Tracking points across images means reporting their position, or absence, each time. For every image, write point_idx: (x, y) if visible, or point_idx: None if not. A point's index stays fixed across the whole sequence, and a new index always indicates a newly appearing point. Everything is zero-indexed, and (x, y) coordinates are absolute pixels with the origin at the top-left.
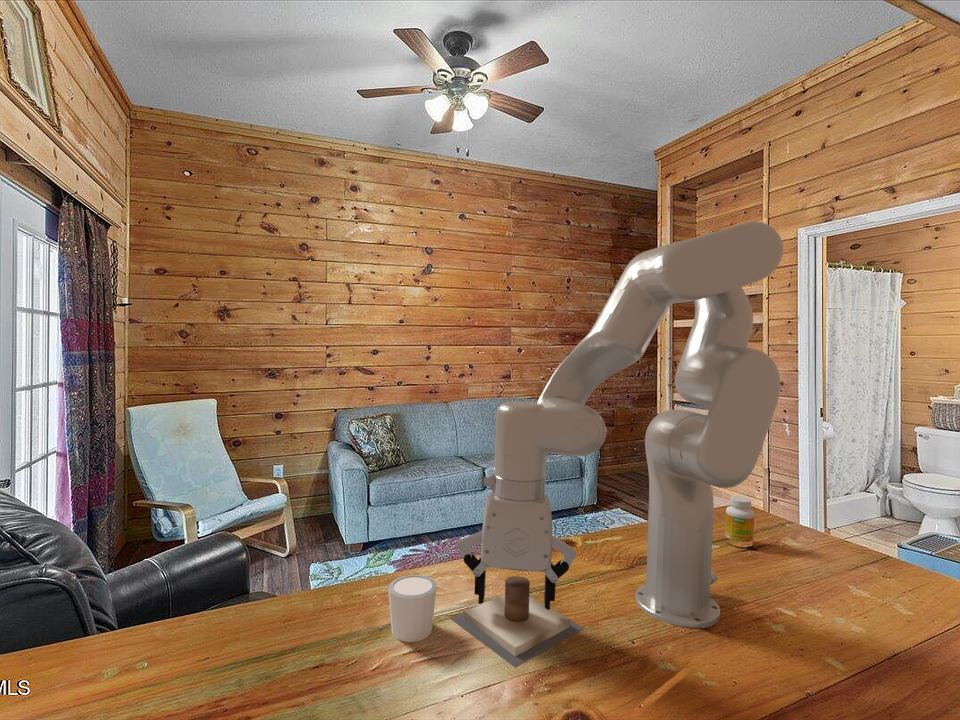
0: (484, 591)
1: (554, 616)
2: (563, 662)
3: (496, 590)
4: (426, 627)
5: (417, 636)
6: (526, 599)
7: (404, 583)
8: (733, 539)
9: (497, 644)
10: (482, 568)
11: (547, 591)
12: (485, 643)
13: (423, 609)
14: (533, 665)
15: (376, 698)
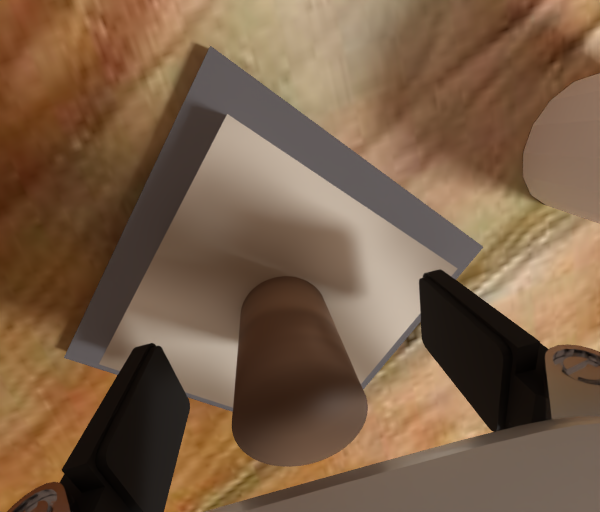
0: (434, 335)
1: None
2: (64, 167)
3: (374, 418)
4: (584, 111)
5: (590, 83)
6: (241, 352)
7: None
8: None
9: (310, 164)
10: (579, 405)
11: (112, 413)
12: (351, 156)
13: None
14: (159, 111)
15: None
